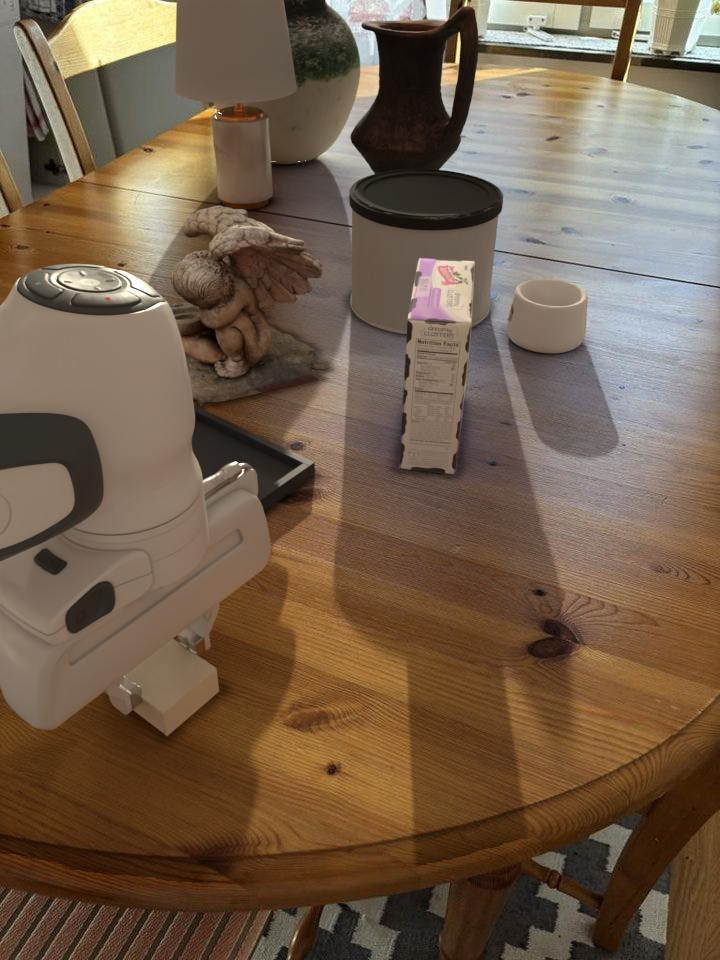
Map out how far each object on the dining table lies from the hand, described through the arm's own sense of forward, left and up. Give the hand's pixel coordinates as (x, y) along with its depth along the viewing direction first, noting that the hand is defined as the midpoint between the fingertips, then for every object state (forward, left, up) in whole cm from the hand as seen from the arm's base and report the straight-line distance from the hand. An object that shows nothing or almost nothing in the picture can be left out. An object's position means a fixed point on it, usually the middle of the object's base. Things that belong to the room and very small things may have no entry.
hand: (162, 676), depth 61 cm
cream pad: (0, 0, -2) cm, 2 cm away
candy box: (+40, +4, -2) cm, 40 cm away
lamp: (+79, +69, -2) cm, 105 cm away
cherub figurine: (+39, +31, -2) cm, 50 cm away
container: (+65, +23, -2) cm, 69 cm away
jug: (+99, +49, -2) cm, 111 cm away
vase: (+103, +81, -2) cm, 131 cm away
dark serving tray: (+22, +17, -2) cm, 28 cm away
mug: (+68, +6, -2) cm, 68 cm away
